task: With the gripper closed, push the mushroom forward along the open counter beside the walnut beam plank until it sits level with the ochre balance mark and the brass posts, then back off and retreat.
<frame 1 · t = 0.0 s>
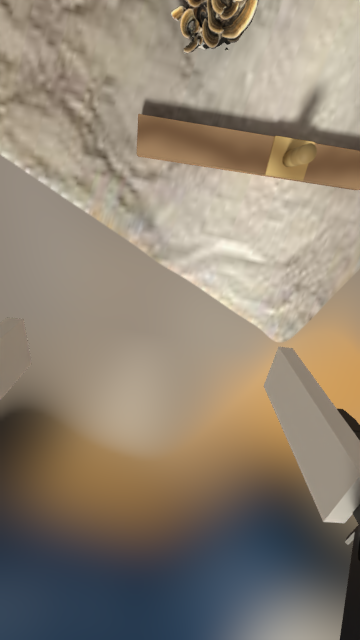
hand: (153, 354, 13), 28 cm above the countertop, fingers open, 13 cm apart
beam plank: (253, 156, 32), on the countertop
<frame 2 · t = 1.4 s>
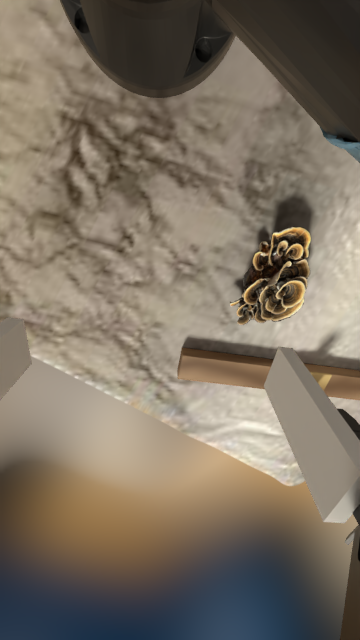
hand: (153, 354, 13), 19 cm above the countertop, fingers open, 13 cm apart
mushroom: (265, 274, 31), on the countertop
beam plank: (277, 371, 37), on the countertop
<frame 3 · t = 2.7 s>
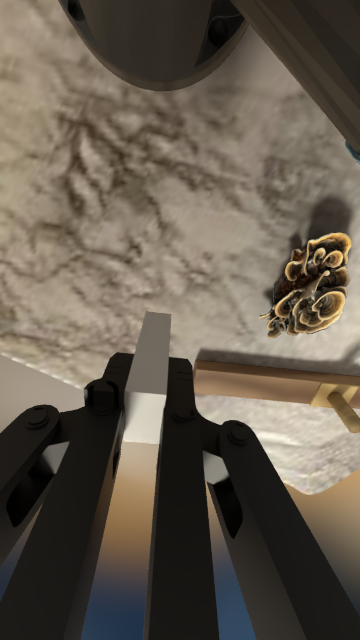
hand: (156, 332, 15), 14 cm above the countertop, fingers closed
mushroom: (296, 282, 28), on the countertop
beam plank: (297, 381, 35), on the countertop
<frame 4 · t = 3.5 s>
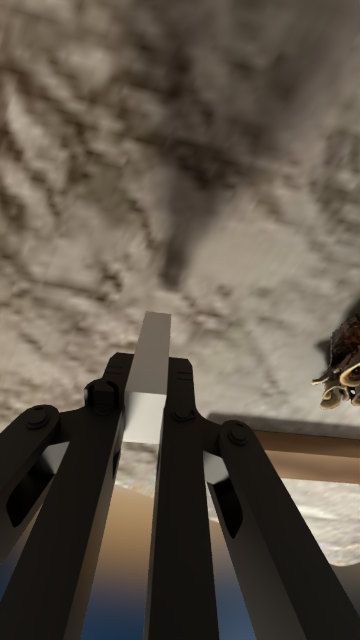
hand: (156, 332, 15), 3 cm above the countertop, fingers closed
beam plank: (342, 451, 25), on the countertop
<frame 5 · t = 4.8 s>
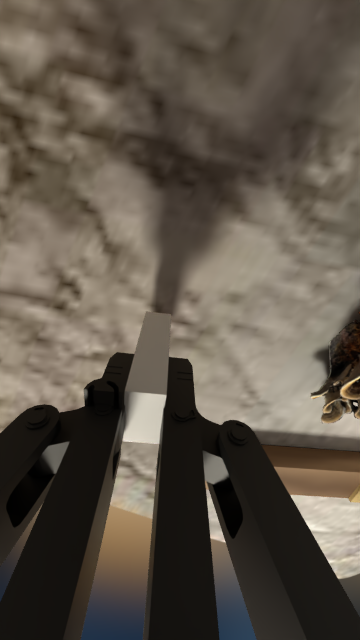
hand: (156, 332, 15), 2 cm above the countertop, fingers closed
beam plank: (330, 463, 24), on the countertop
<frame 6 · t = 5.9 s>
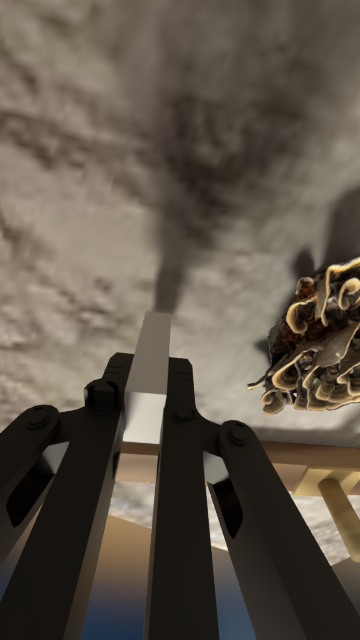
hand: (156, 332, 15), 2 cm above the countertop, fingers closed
mushroom: (307, 325, 17), on the countertop
beam plank: (275, 456, 24), on the countertop
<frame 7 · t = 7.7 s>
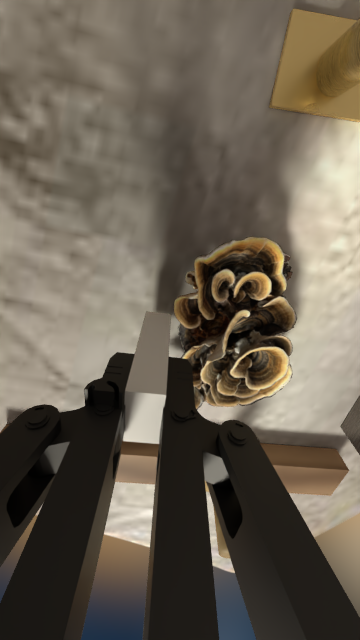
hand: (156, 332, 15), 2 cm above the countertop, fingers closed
mushroom: (219, 320, 17), on the countertop, touching gripper
near post: (333, 72, 11), on the countertop
beam plank: (175, 450, 23), on the countertop
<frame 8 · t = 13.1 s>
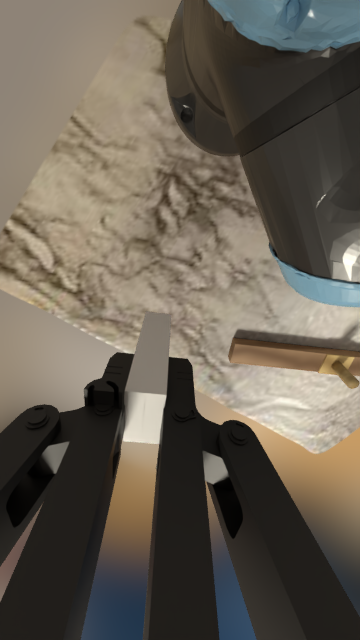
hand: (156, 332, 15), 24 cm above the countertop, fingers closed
beam plank: (309, 355, 46), on the countertop
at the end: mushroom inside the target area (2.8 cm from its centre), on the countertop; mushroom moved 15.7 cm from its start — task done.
